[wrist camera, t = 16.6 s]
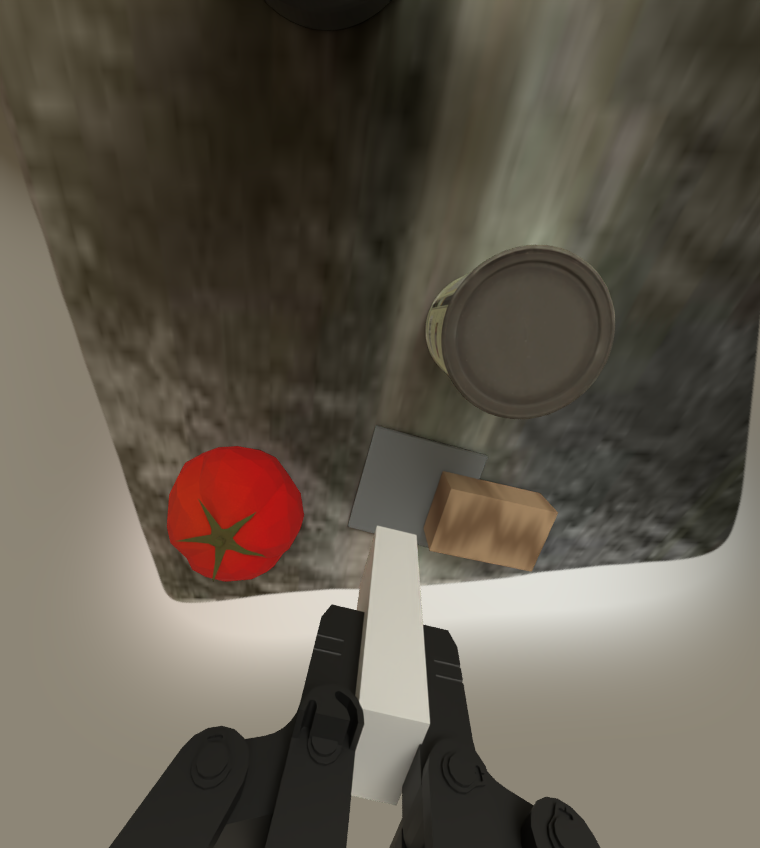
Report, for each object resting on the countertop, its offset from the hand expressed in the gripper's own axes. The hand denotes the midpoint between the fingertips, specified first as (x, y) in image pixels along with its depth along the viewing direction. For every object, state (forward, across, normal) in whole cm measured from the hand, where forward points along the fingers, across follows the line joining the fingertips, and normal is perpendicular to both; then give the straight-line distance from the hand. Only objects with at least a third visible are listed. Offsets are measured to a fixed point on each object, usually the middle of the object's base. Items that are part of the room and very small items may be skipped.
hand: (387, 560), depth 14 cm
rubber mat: (+25, +5, -10) cm, 28 cm away
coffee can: (+26, +6, +8) cm, 28 cm away
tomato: (+25, -12, -14) cm, 31 cm away
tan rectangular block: (+22, +7, -10) cm, 25 cm away
